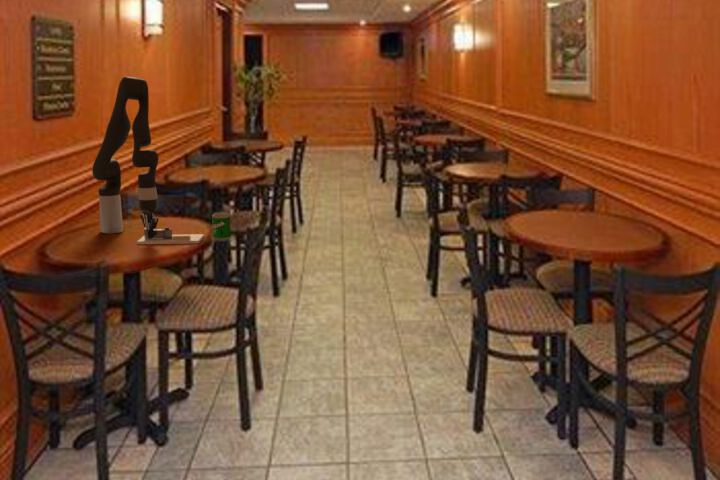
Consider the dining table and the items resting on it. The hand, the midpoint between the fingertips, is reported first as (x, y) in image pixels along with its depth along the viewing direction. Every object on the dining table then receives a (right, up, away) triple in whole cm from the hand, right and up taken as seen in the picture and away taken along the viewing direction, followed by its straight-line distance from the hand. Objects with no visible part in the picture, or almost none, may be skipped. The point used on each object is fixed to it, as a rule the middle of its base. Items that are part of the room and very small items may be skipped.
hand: (150, 237), depth 326 cm
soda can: (+29, -1, +6) cm, 30 cm away
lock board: (+7, -1, +6) cm, 9 cm away
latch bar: (+3, 0, +4) cm, 5 cm away
